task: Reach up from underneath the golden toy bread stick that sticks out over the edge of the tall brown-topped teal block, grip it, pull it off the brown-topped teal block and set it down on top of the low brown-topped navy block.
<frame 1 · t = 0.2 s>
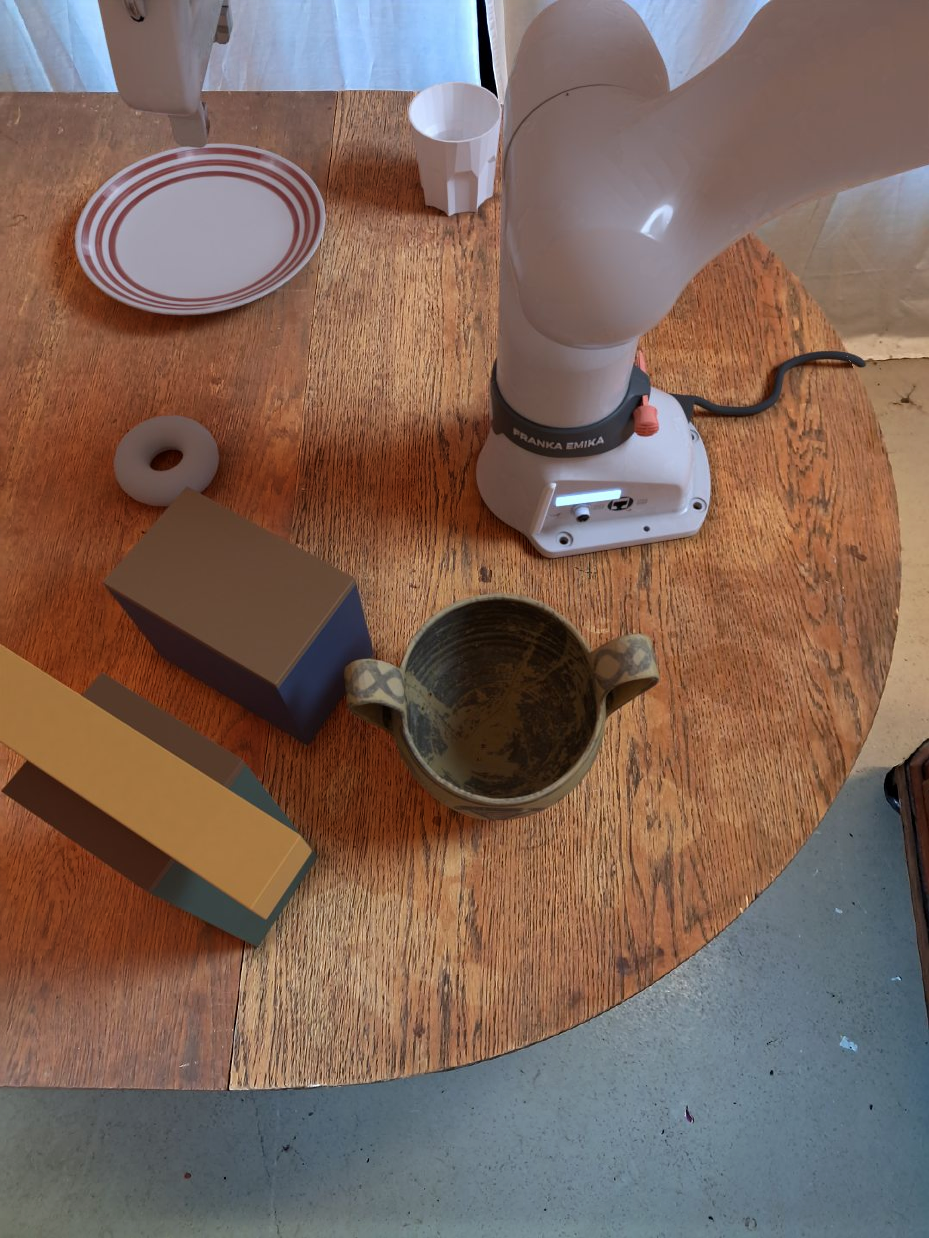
hand: (206, 86, 53), 39 cm above the table, tool pointing down, fingers open, 8 cm apart
dinner plate: (208, 246, 102), on the table
bread stick: (94, 756, 48), point 26 cm above the table, touching brown-topped teal block
ceramic bowl: (496, 739, 76), on the table
cup: (456, 193, 105), on the table
brown-topped teal block: (237, 867, 71), on the table
brown-topped navy block: (267, 655, 79), on the table
donut: (172, 471, 88), on the table
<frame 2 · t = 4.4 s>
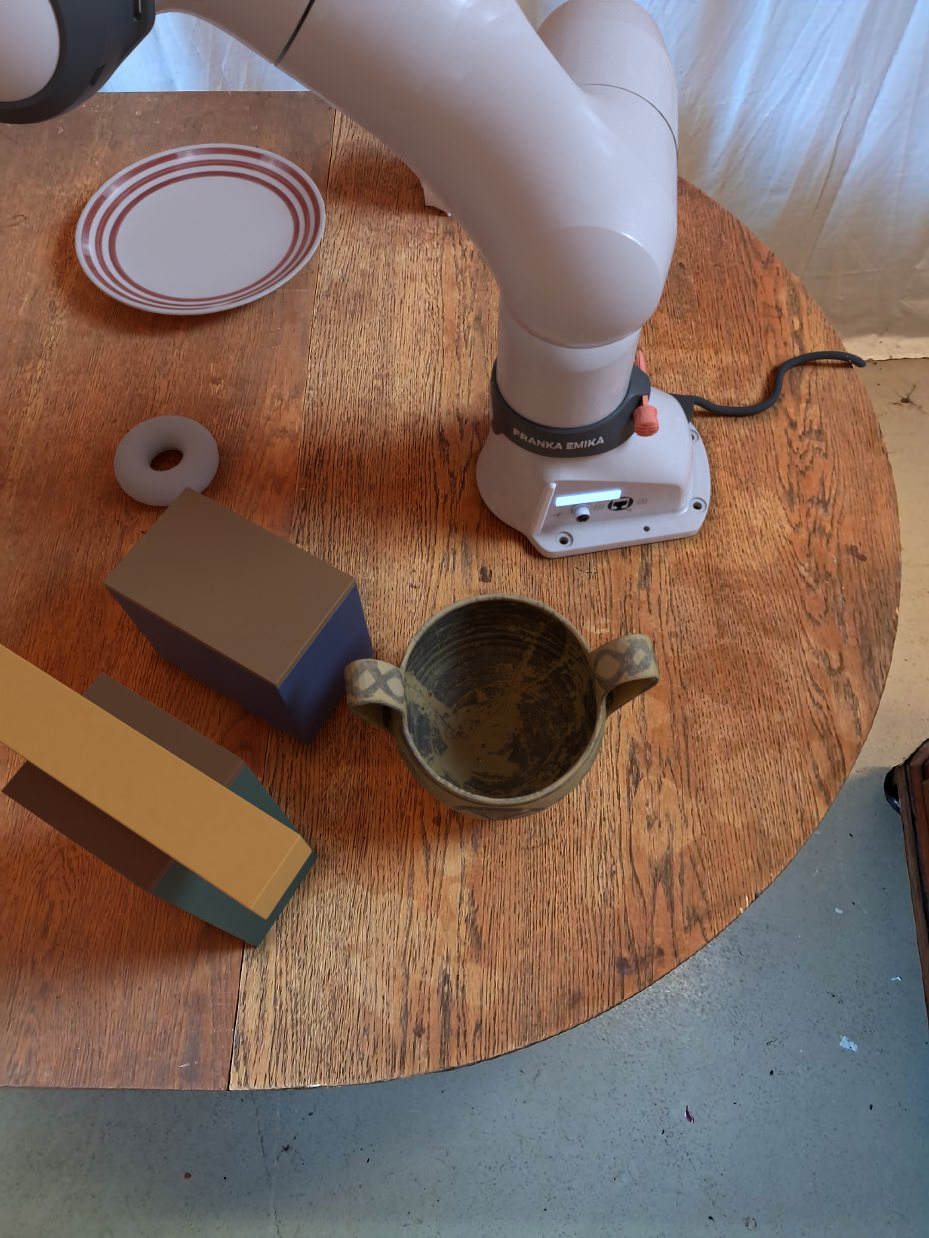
nothing on the table moved.
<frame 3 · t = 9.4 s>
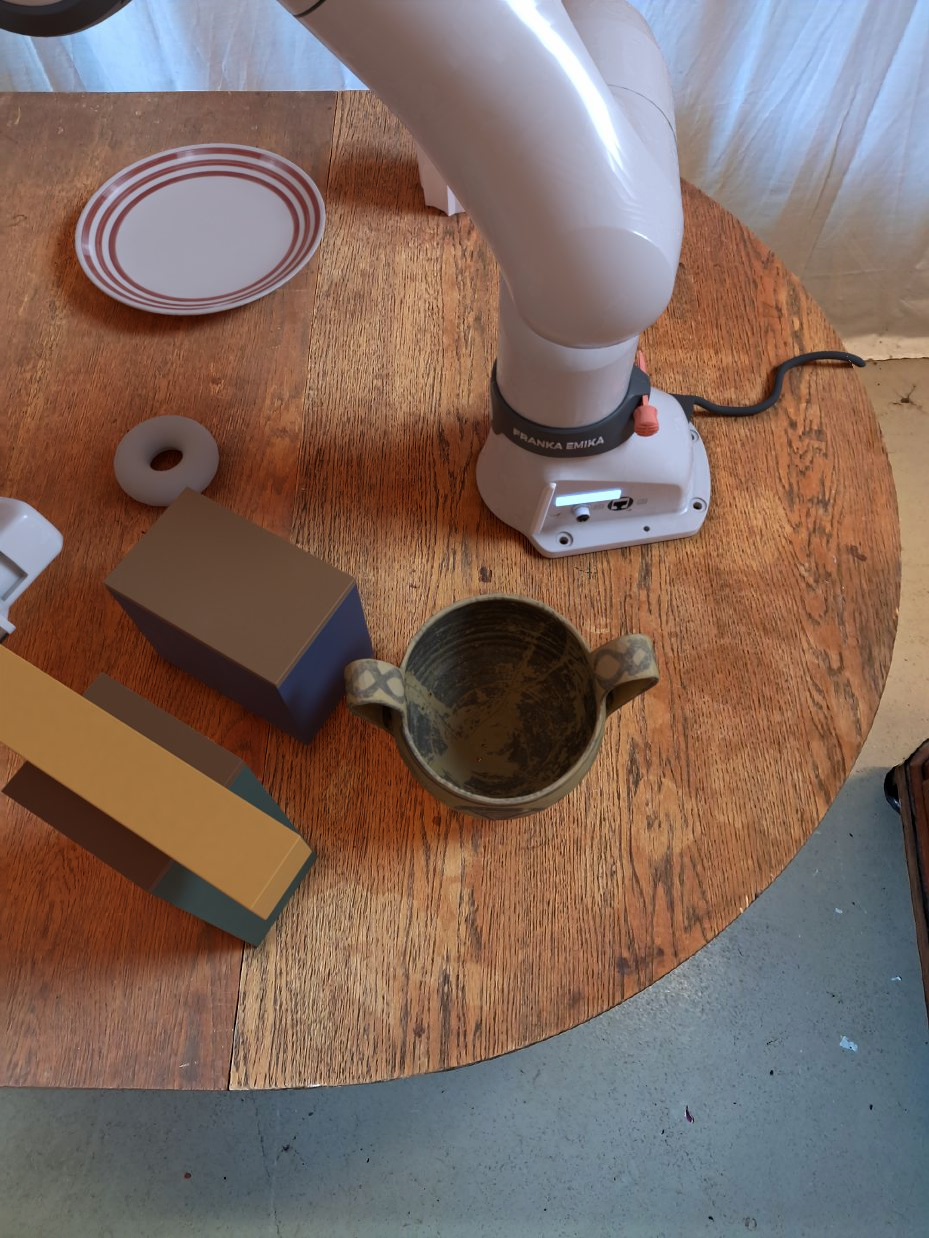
bread stick: (93, 756, 48), point 26 cm above the table, touching brown-topped teal block, gripper
everything else where it was.
when the fingers open (16 cm above the table, at t = 20.4 s): bread stick stays where it is, resting on brown-topped navy block.
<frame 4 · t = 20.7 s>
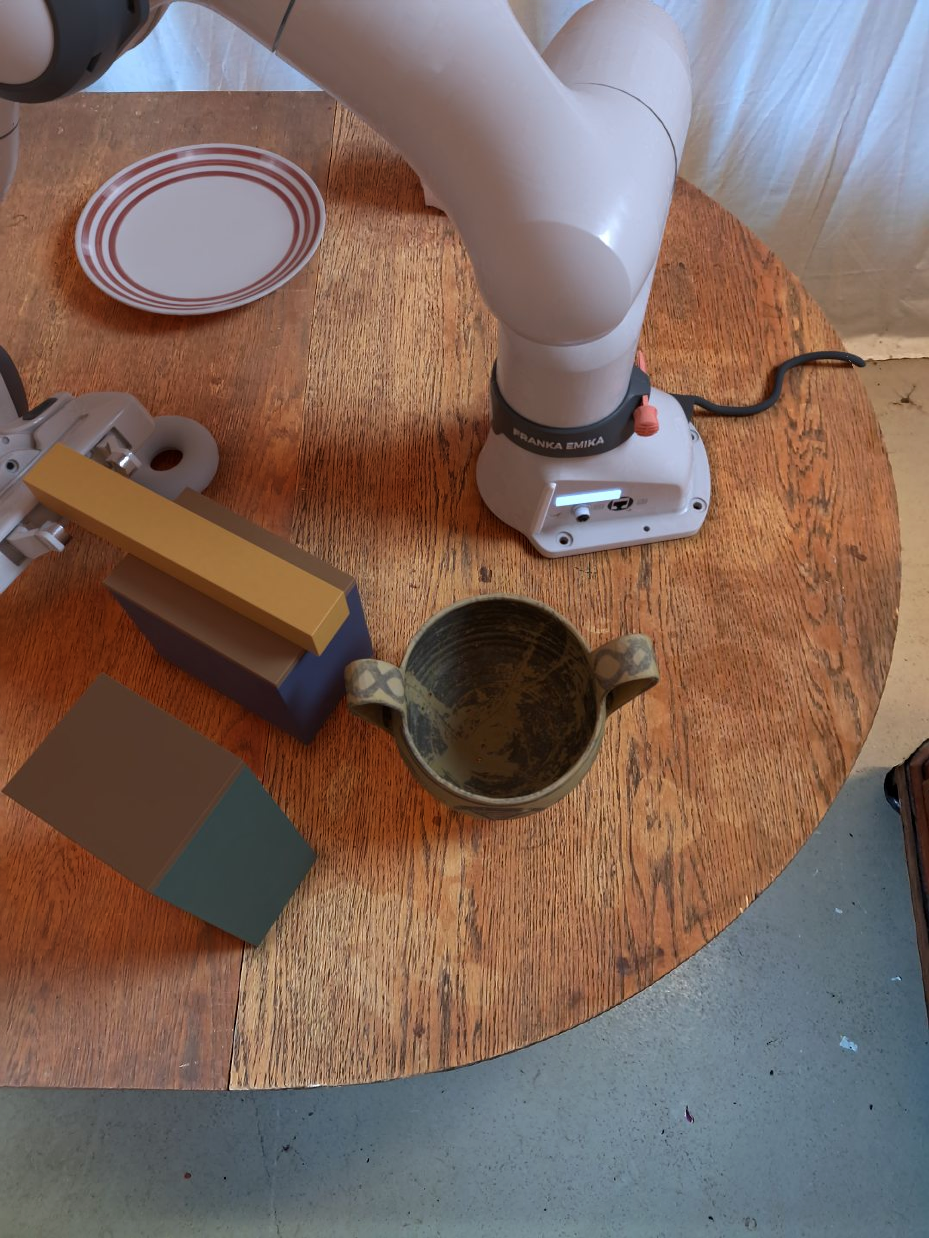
hand: (96, 500, 68), 16 cm above the table, tool pointing upward, fingers open, 6 cm apart
bread stick: (190, 557, 67), point 14 cm above the table, touching brown-topped navy block
everything else where it was.
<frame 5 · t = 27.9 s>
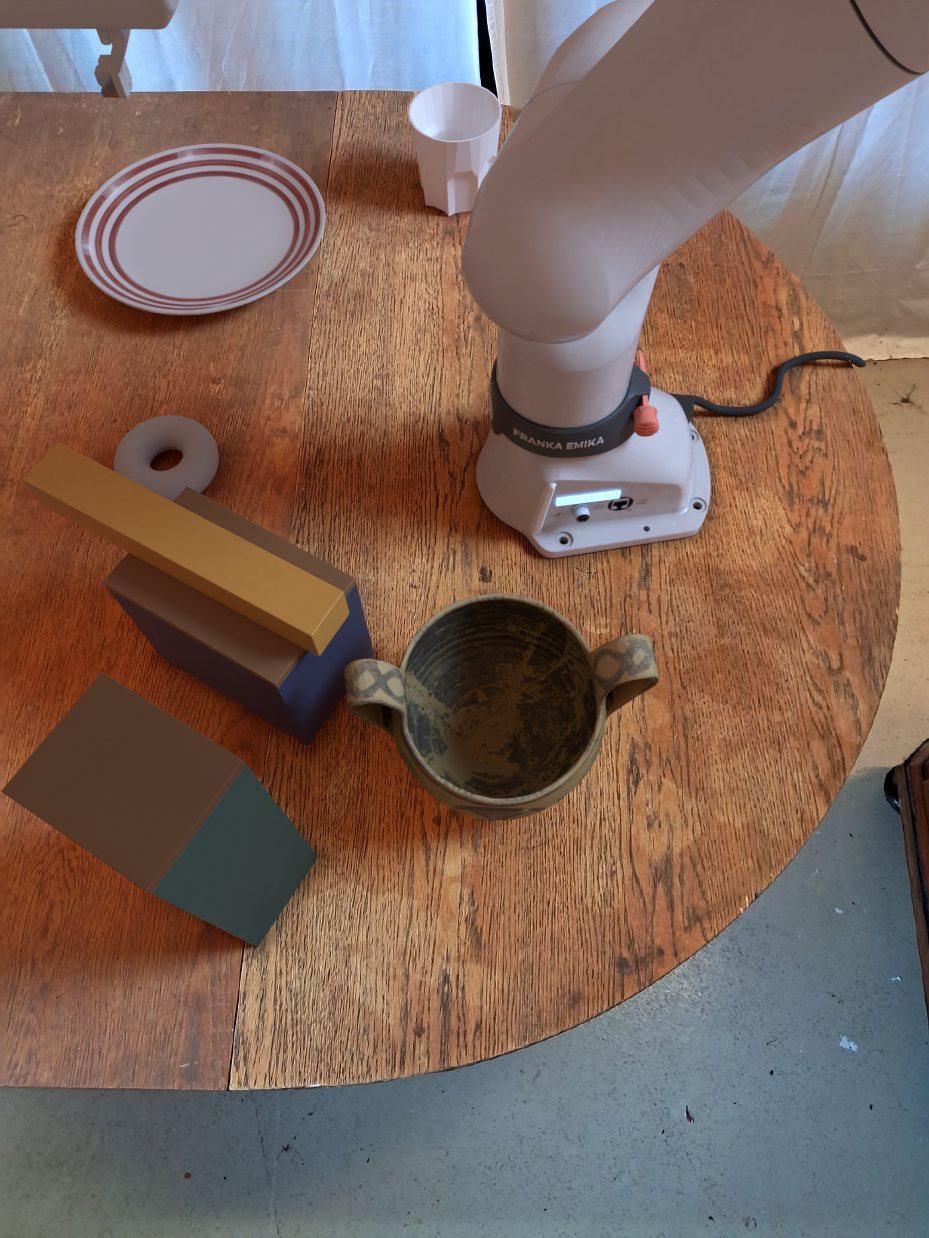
hand: (43, 92, 55), 37 cm above the table, tool pointing down, fingers open, 8 cm apart
nothing on the table moved.
at the end: bread stick inside the target area on the brown-topped navy block (3.6 cm from its centre), point 14.0 cm above the brown-topped navy block's base; bread stick touching brown-topped navy block; the gripper is holding nothing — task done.
